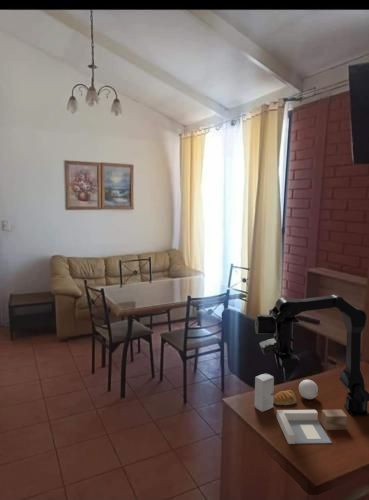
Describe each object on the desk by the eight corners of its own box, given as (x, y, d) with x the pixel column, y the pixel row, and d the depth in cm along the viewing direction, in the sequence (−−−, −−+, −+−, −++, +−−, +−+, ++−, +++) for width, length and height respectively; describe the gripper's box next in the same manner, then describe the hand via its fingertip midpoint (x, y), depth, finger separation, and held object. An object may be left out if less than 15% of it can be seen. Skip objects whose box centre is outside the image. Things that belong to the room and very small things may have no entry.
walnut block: (340, 422, 125) (341, 409, 125) (346, 429, 121) (347, 416, 121) (321, 422, 125) (321, 409, 124) (325, 430, 121) (326, 416, 120)
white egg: (313, 405, 136) (314, 387, 135) (295, 398, 141) (296, 381, 140) (323, 394, 143) (324, 377, 142) (305, 388, 148) (306, 372, 147)
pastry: (277, 408, 134) (277, 398, 134) (267, 399, 140) (267, 390, 140) (298, 404, 137) (298, 394, 137) (287, 395, 143) (287, 386, 143)
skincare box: (262, 412, 131) (263, 381, 130) (253, 406, 135) (254, 376, 133) (273, 407, 135) (274, 377, 133) (265, 401, 138) (266, 372, 137)
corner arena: (315, 417, 128) (315, 409, 128) (331, 443, 114) (332, 434, 114) (276, 417, 128) (276, 410, 127) (288, 443, 114) (288, 435, 114)
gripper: (256, 324, 137) (255, 363, 139) (268, 343, 119) (267, 387, 121) (285, 324, 137) (283, 363, 139) (301, 343, 119) (299, 387, 121)
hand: (282, 374), depth 130 cm, fingers open, 9 cm apart
